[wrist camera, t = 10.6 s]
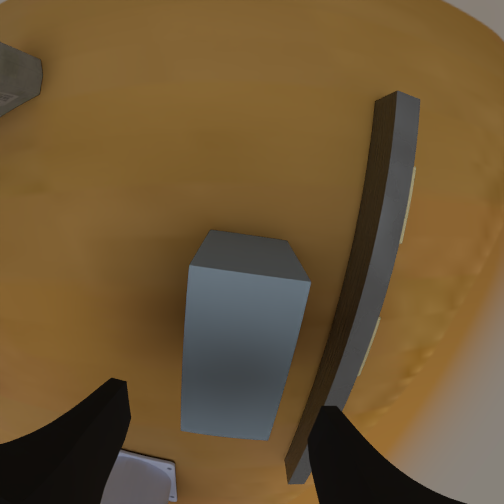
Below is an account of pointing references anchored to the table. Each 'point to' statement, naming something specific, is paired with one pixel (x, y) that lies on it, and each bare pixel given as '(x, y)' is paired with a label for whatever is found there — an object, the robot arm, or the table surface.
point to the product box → (239, 333)
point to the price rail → (365, 266)
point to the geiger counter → (18, 77)
